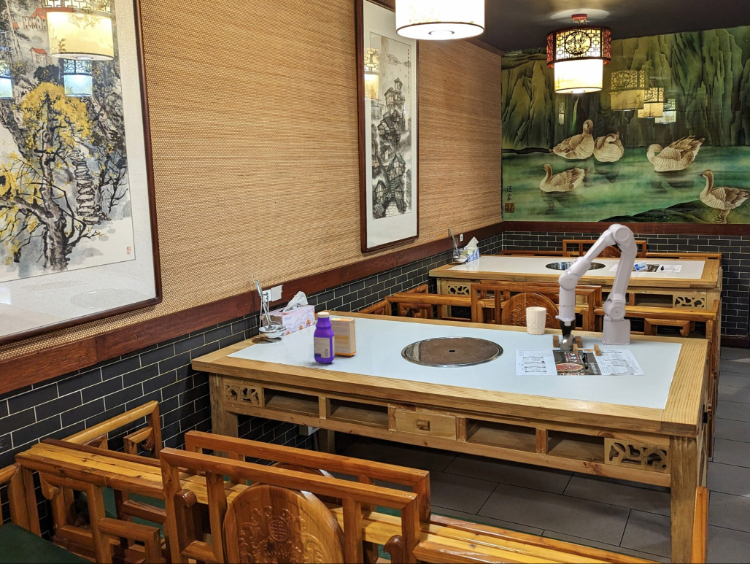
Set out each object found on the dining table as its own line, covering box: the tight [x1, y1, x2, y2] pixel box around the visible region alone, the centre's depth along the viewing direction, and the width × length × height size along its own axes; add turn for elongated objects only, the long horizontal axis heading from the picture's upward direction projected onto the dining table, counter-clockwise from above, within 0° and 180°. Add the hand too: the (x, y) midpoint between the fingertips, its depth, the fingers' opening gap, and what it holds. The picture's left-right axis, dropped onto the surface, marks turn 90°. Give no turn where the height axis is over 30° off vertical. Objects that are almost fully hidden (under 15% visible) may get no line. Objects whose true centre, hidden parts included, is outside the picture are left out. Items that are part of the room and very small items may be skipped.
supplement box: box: [330, 316, 357, 357], centre depth 245 cm, size 8×5×13 cm, turn 65°
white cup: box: [525, 306, 547, 336], centre depth 270 cm, size 8×8×10 cm
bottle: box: [313, 311, 336, 364], centre depth 235 cm, size 7×6×17 cm
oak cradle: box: [572, 343, 601, 357], centre depth 238 cm, size 9×9×3 cm
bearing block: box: [552, 334, 583, 349], centre depth 249 cm, size 10×7×3 cm
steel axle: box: [559, 333, 575, 352], centre depth 247 cm, size 12×4×4 cm, turn 158°
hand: (566, 340), depth 254 cm, fingers closed
